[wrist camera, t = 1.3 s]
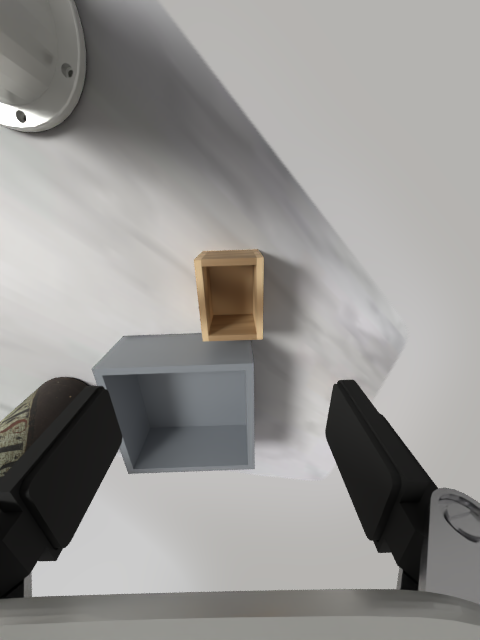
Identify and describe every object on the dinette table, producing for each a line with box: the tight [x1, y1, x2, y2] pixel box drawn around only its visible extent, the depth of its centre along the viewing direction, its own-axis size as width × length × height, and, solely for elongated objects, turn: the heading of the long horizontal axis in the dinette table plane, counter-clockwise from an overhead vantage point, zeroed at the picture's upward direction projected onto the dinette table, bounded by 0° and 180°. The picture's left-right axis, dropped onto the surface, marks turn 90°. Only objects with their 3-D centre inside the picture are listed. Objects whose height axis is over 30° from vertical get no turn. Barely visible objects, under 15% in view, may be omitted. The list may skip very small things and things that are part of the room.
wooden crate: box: [194, 249, 264, 342], centre depth 24 cm, size 8×6×6 cm
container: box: [0, 377, 87, 479], centre depth 24 cm, size 9×9×20 cm
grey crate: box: [92, 333, 255, 474], centre depth 29 cm, size 16×16×7 cm
